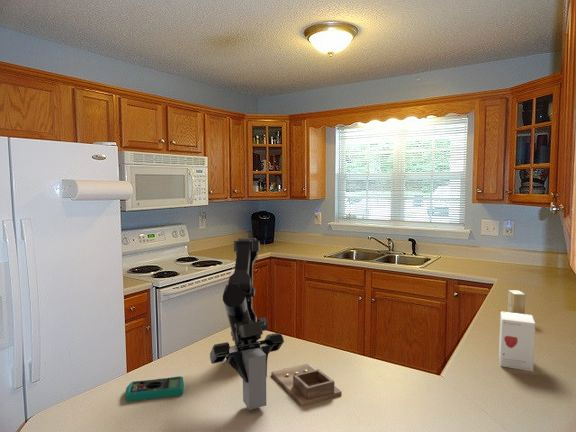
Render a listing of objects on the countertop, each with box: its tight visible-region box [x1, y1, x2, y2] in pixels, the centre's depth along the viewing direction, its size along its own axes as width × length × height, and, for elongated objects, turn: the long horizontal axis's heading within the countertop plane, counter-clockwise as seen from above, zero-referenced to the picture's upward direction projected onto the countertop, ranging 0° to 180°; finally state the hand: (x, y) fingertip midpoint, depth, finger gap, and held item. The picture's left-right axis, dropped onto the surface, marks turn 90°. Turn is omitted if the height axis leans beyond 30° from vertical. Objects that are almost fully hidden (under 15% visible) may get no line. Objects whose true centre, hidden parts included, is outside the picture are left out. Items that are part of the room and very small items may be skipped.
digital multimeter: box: [125, 376, 185, 403], centre depth 110 cm, size 7×15×3 cm, turn 103°
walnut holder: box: [270, 363, 343, 407], centre depth 113 cm, size 19×12×4 cm, turn 26°
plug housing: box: [242, 348, 267, 411], centre depth 101 cm, size 4×4×13 cm
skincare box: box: [507, 289, 527, 314], centre depth 165 cm, size 6×4×12 cm
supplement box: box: [498, 311, 536, 373], centre depth 126 cm, size 9×9×15 cm
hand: (256, 380), depth 100 cm, fingers closed on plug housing, 4 cm apart
